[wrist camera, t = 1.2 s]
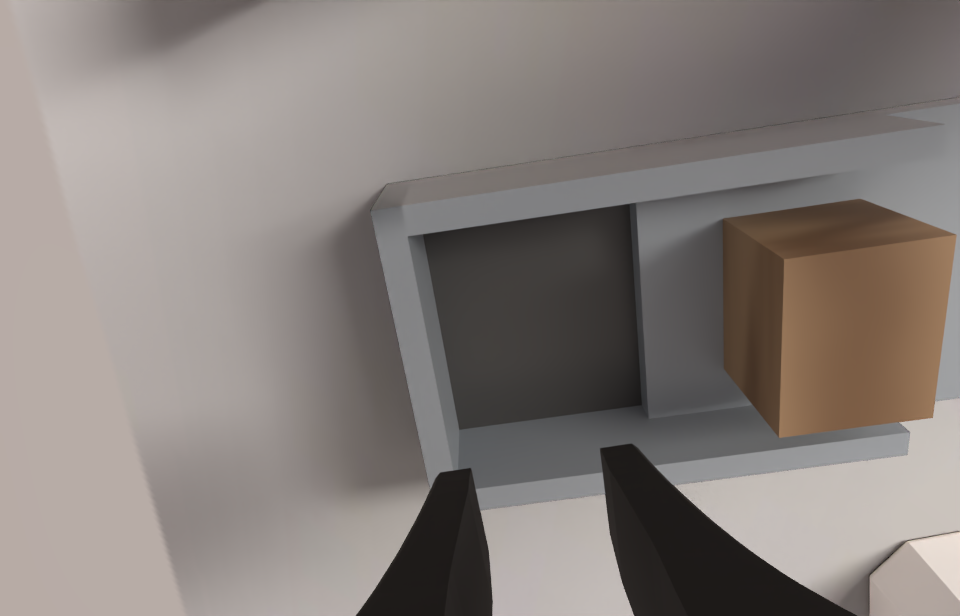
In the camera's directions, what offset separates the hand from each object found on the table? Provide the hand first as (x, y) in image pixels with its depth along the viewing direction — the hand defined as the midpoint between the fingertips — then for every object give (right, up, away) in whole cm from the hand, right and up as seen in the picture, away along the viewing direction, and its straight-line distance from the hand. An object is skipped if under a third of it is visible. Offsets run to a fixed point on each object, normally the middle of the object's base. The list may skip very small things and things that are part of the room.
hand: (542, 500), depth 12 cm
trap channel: (+9, +5, +8) cm, 13 cm away
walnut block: (+8, +4, +7) cm, 12 cm away
